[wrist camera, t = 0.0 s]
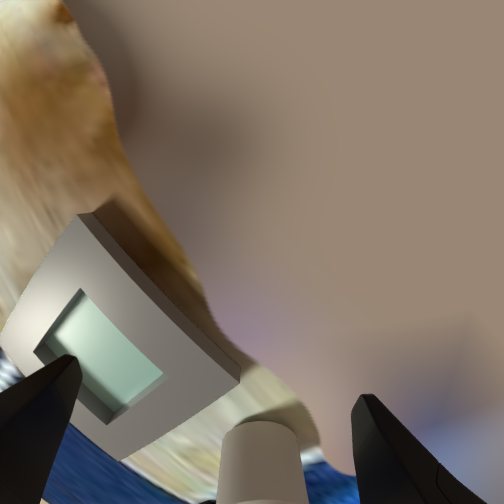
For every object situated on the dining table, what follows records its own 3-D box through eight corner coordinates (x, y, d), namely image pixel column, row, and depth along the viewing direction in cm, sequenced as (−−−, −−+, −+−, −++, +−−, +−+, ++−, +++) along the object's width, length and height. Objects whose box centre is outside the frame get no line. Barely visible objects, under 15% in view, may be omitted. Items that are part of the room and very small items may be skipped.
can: (249, 403, 26) (250, 508, 14) (311, 432, 26) (335, 526, 15) (208, 446, 27) (194, 539, 15) (267, 470, 27) (273, 557, 16)
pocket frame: (125, 447, 27) (118, 461, 24) (10, 332, 25) (-3, 341, 22) (240, 367, 25) (239, 383, 23) (91, 212, 23) (76, 214, 20)
